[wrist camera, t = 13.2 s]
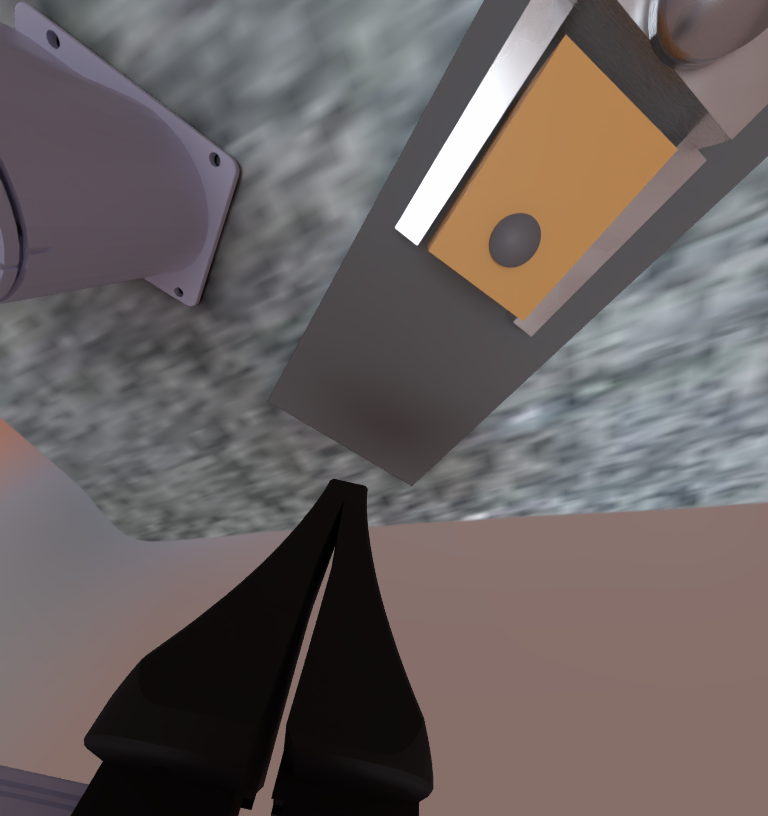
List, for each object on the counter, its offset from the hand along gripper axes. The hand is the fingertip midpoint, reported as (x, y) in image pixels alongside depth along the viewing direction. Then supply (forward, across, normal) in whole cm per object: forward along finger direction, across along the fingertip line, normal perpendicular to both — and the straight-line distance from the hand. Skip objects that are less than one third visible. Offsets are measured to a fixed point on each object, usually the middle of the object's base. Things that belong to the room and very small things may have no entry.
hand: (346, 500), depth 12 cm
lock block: (+9, -4, -10) cm, 14 cm away
